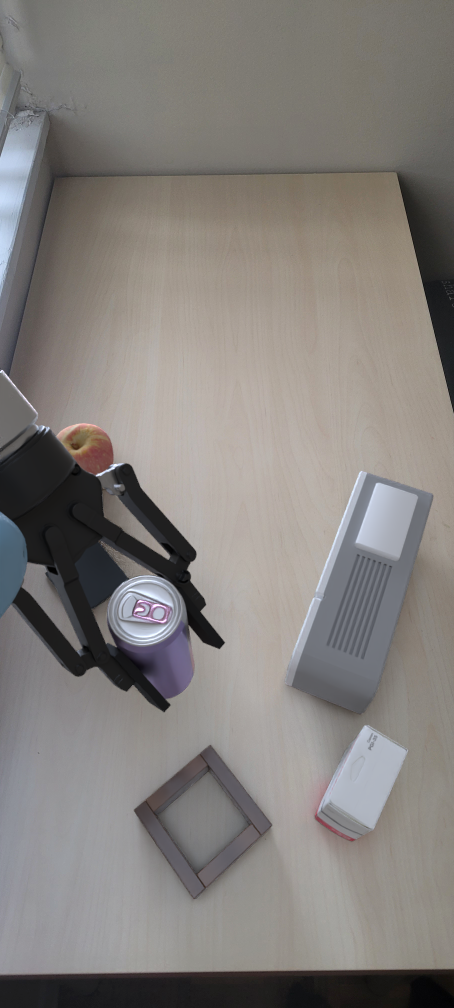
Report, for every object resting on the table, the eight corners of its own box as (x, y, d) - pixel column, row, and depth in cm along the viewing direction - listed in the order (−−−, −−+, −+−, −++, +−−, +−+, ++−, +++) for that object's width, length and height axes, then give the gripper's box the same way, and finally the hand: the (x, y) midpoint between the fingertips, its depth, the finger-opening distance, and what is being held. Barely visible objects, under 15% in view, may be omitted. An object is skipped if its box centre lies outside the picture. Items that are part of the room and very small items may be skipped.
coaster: (78, 619, 81) (77, 617, 80) (45, 574, 84) (44, 572, 83) (130, 582, 83) (130, 580, 83) (97, 540, 87) (96, 538, 86)
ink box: (352, 844, 67) (373, 835, 57) (310, 817, 69) (324, 804, 59) (386, 769, 71) (411, 749, 61) (346, 745, 73) (365, 721, 62)
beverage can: (184, 708, 58) (171, 657, 45) (122, 692, 59) (92, 636, 46) (202, 647, 61) (194, 582, 48) (143, 632, 62) (120, 564, 49)
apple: (114, 444, 95) (105, 409, 88) (121, 493, 90) (112, 461, 84) (55, 454, 94) (41, 420, 87) (59, 505, 89) (45, 472, 83)
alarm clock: (348, 508, 89) (364, 459, 79) (414, 531, 87) (438, 483, 77) (282, 691, 76) (289, 659, 66) (357, 721, 74) (377, 694, 64)
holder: (195, 899, 65) (193, 899, 62) (137, 813, 69) (133, 810, 66) (270, 828, 68) (272, 825, 65) (211, 750, 72) (210, 744, 69)
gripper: (81, 381, 51) (236, 586, 60) (-122, 541, 44) (87, 749, 52) (118, 366, 45) (285, 597, 53) (-113, 550, 38) (124, 785, 46)
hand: (187, 672), depth 53 cm, fingers closed on beverage can, 6 cm apart
